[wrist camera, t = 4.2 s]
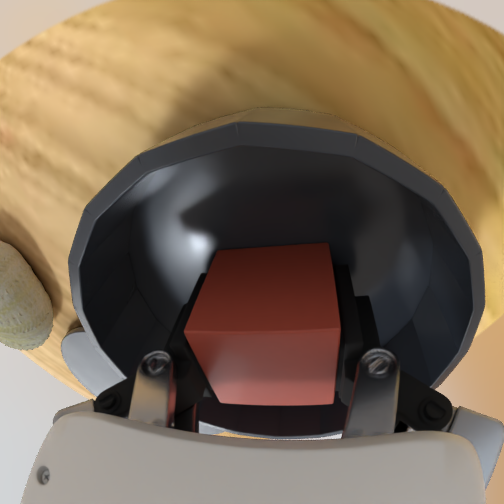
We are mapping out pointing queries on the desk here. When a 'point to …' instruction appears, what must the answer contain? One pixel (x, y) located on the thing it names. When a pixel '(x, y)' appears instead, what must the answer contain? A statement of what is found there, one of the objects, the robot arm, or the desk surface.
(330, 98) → the desk surface
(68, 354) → the pot lid
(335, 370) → the block
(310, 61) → the desk surface
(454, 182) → the desk surface
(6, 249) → the sea urchin shell
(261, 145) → the pot
